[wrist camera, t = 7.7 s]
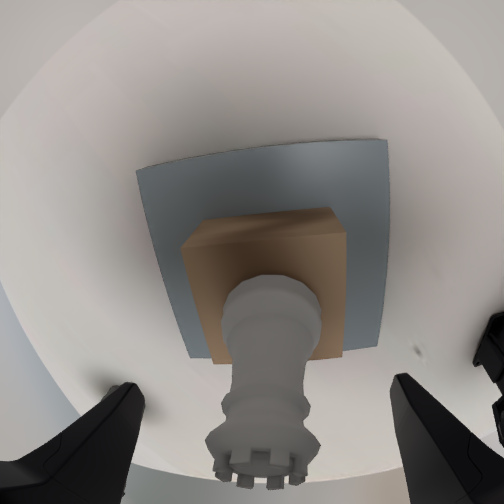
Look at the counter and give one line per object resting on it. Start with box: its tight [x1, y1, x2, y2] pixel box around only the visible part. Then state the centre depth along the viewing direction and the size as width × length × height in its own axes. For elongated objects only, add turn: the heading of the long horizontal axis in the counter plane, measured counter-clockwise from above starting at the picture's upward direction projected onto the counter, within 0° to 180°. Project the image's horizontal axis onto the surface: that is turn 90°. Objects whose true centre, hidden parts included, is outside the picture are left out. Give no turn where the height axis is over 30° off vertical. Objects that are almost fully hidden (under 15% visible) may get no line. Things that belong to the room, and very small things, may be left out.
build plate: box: [136, 139, 390, 358], centre depth 17 cm, size 14×14×2 cm
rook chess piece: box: [205, 275, 322, 490], centre depth 9 cm, size 4×4×8 cm
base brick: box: [180, 207, 346, 364], centre depth 15 cm, size 7×7×4 cm
